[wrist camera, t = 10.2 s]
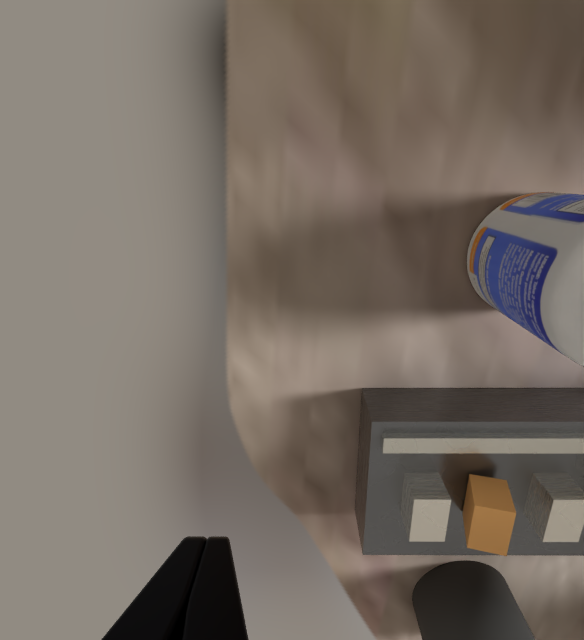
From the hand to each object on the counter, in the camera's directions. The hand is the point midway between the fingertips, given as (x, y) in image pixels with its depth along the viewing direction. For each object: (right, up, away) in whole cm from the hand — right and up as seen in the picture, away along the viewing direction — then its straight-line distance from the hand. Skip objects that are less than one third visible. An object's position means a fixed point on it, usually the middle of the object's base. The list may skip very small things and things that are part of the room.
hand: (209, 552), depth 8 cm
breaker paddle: (+11, -4, +12) cm, 16 cm away
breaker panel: (+12, -3, +15) cm, 19 cm away
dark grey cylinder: (+12, -13, +19) cm, 26 cm away
